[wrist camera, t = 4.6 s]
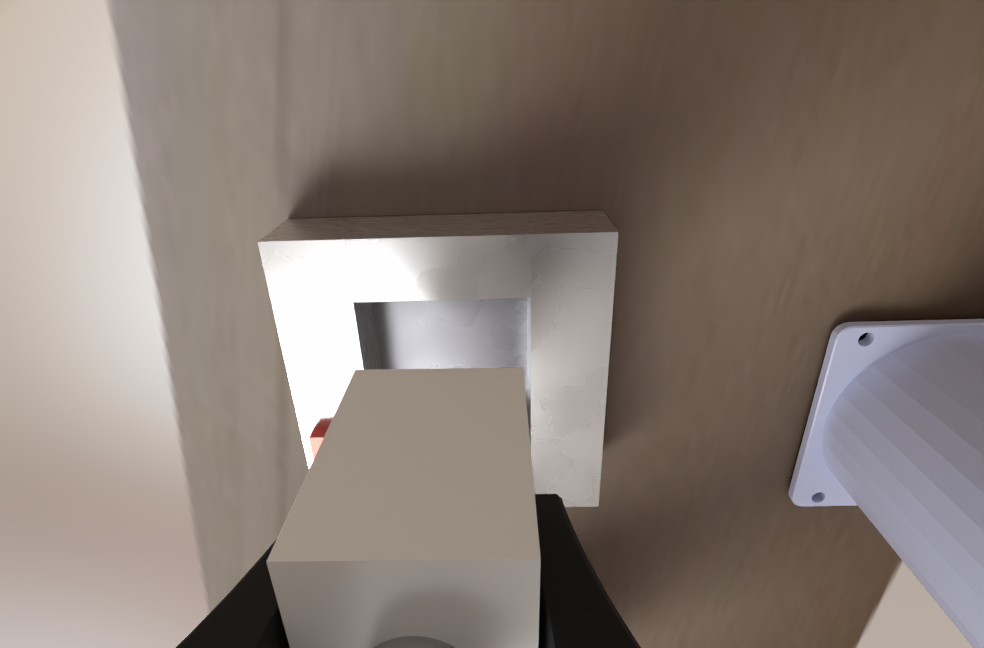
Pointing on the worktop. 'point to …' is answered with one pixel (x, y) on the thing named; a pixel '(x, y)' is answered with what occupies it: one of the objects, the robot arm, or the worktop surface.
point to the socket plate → (455, 317)
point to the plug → (416, 518)
